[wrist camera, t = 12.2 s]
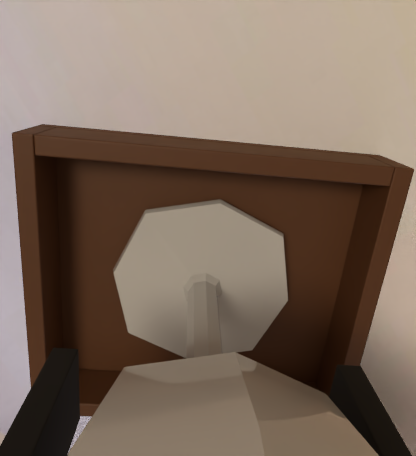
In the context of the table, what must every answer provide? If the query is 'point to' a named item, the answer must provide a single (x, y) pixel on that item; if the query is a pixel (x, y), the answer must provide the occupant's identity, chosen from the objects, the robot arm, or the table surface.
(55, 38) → the table surface
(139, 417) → the wineglass
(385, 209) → the tray
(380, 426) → the robot arm
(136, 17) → the table surface
